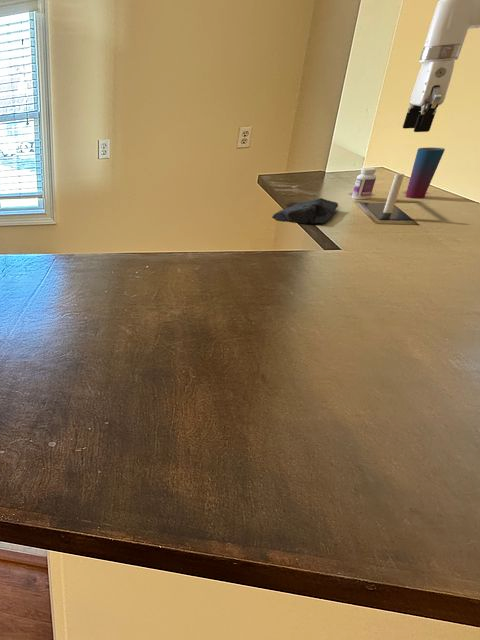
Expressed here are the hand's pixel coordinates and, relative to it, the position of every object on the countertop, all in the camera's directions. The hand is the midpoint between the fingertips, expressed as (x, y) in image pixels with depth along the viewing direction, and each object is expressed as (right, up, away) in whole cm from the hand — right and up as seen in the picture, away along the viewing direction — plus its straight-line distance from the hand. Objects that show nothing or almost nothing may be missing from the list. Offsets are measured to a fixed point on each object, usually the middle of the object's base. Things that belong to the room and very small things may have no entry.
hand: (415, 129), depth 128 cm
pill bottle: (+14, -6, +37) cm, 40 cm away
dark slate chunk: (-14, -16, +23) cm, 32 cm away
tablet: (+10, -17, +17) cm, 26 cm away
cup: (+30, -6, +34) cm, 46 cm away
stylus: (+1, -20, +11) cm, 23 cm away
